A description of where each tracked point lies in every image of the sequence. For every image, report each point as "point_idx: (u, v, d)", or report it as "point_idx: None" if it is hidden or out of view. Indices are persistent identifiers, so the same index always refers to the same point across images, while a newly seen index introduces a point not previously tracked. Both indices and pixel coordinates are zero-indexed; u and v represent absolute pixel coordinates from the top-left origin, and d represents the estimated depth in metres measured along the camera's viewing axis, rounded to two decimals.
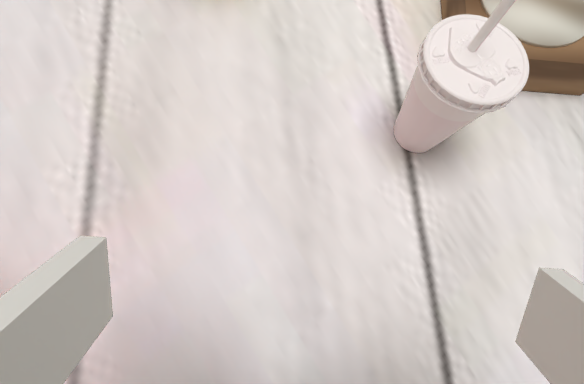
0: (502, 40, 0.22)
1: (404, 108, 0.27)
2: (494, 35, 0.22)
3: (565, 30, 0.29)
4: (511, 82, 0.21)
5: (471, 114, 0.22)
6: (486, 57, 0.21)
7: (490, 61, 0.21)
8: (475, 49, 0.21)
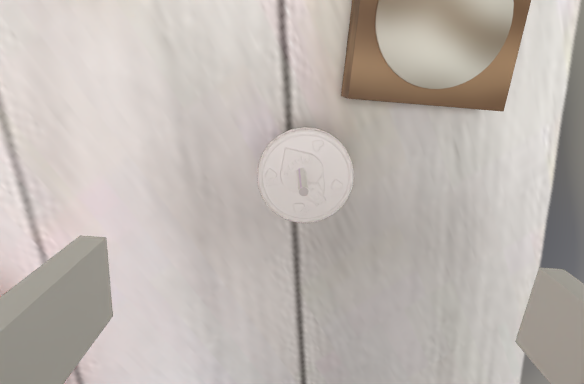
0: (334, 159, 0.23)
1: None
2: (327, 153, 0.23)
3: (457, 69, 0.27)
4: (332, 202, 0.24)
5: None
6: (312, 181, 0.24)
7: (315, 185, 0.24)
8: None
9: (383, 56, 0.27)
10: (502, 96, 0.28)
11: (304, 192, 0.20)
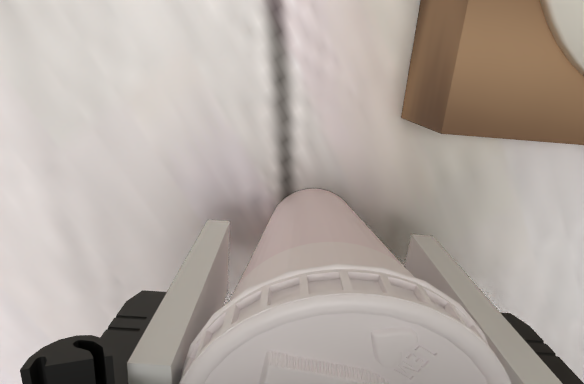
0: None
1: None
2: (429, 371, 0.06)
3: None
4: None
5: None
6: None
7: None
8: None
9: (554, 17, 0.09)
10: None
11: None
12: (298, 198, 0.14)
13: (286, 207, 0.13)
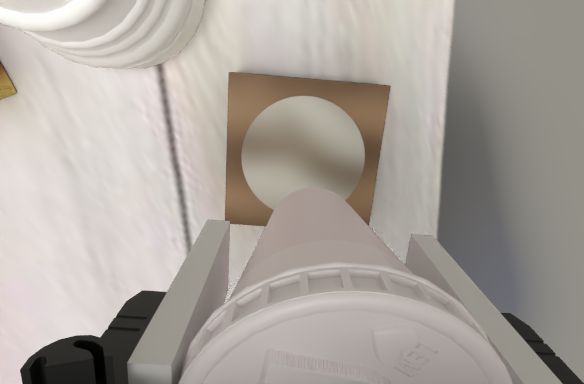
0: None
1: None
2: (430, 369, 0.06)
3: None
4: None
5: None
6: None
7: None
8: None
9: (251, 190, 0.29)
10: (365, 221, 0.31)
11: None
12: (298, 197, 0.14)
13: (286, 206, 0.13)
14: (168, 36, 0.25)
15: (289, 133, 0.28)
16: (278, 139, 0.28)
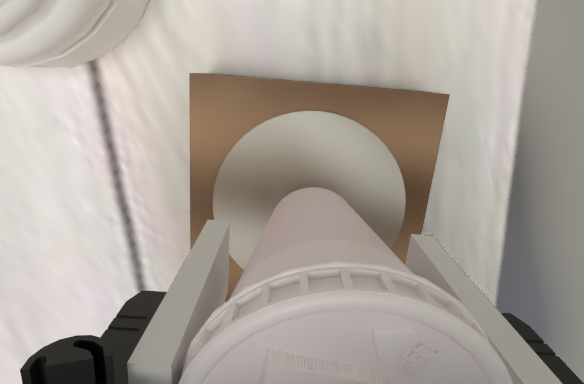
0: None
1: None
2: (430, 369, 0.06)
3: None
4: None
5: None
6: None
7: None
8: None
9: (230, 254, 0.19)
10: None
11: None
12: (298, 197, 0.14)
13: (286, 206, 0.13)
14: (82, 12, 0.15)
15: (287, 169, 0.18)
16: (270, 178, 0.18)
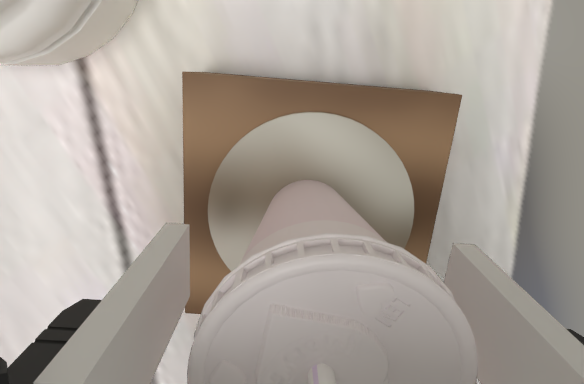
0: (423, 334, 0.08)
1: None
2: (404, 320, 0.07)
3: None
4: None
5: None
6: None
7: None
8: None
9: (226, 264, 0.18)
10: None
11: None
12: (294, 188, 0.15)
13: (283, 196, 0.14)
14: (65, 6, 0.14)
15: (288, 175, 0.16)
16: (269, 185, 0.17)
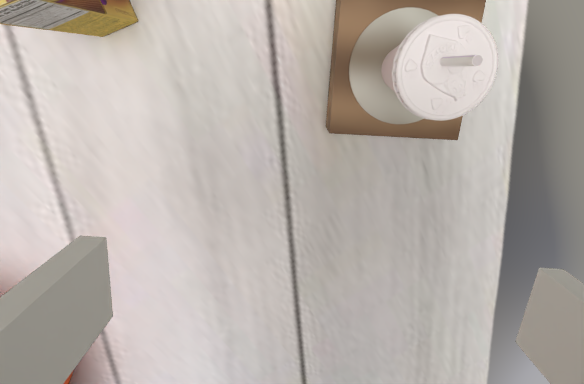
0: (479, 47, 0.22)
1: (387, 70, 0.28)
2: (473, 41, 0.22)
3: None
4: (472, 96, 0.23)
5: None
6: (455, 72, 0.23)
7: (458, 76, 0.23)
8: (445, 66, 0.22)
9: (356, 99, 0.33)
10: (456, 128, 0.34)
11: (476, 62, 0.18)
12: None
13: None
14: None
15: (394, 43, 0.31)
16: (383, 49, 0.31)
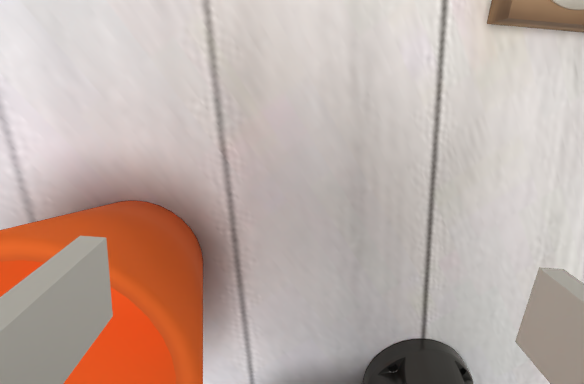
0: None
1: None
2: None
3: None
4: None
5: None
6: None
7: None
8: None
9: None
10: None
11: None
12: None
13: None
14: None
15: None
16: None
